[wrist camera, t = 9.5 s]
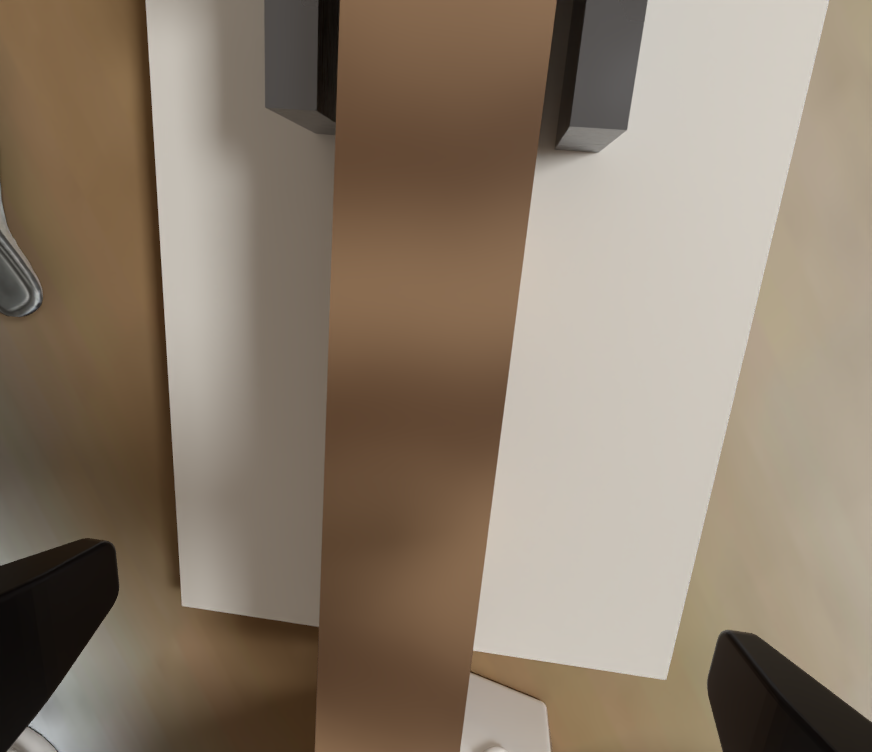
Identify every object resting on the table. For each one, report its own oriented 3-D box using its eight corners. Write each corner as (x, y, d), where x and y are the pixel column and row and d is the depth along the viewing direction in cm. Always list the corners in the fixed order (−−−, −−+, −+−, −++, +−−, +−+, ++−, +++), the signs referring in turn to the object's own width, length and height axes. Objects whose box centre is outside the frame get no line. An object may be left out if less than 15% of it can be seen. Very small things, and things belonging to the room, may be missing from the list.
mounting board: (656, 654, 20) (666, 680, 19) (198, 586, 22) (182, 605, 21) (825, -78, 14) (854, -106, 13) (165, -96, 15) (138, -122, 14)
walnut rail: (464, 669, 20) (452, 810, 15) (358, 652, 20) (313, 783, 15) (551, -24, 14) (576, -157, 9) (397, -31, 14) (344, -164, 9)
